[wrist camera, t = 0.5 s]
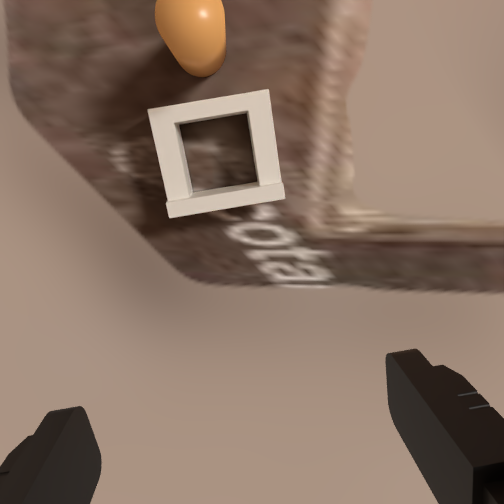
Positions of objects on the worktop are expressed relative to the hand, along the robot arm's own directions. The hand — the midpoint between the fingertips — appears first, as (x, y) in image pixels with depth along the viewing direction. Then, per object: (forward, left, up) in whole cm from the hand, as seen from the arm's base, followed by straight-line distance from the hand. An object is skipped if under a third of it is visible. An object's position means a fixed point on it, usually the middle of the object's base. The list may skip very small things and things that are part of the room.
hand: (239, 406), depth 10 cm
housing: (-6, 0, -25) cm, 25 cm away
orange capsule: (-14, 0, -25) cm, 28 cm away
